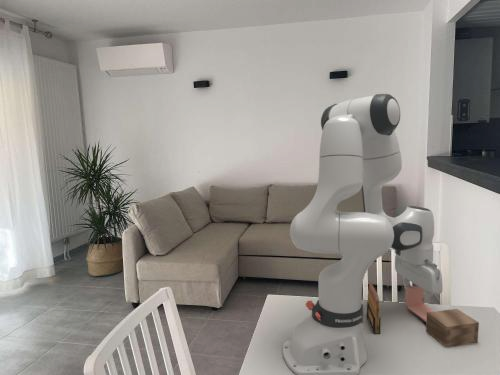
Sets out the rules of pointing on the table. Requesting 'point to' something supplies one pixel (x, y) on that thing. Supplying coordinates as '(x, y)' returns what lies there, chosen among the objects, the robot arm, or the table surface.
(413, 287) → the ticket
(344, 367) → the robot arm
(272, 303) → the table surface
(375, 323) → the brown flat panel
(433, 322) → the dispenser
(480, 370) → the table surface
